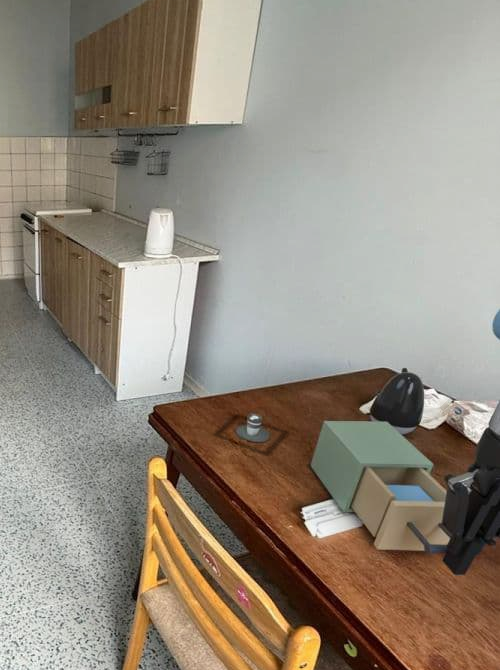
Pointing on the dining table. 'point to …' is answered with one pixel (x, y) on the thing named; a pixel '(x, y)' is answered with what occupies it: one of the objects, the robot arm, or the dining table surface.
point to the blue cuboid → (409, 493)
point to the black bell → (400, 402)
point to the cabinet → (360, 455)
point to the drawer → (401, 510)
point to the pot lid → (253, 429)
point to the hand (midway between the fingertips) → (453, 567)
